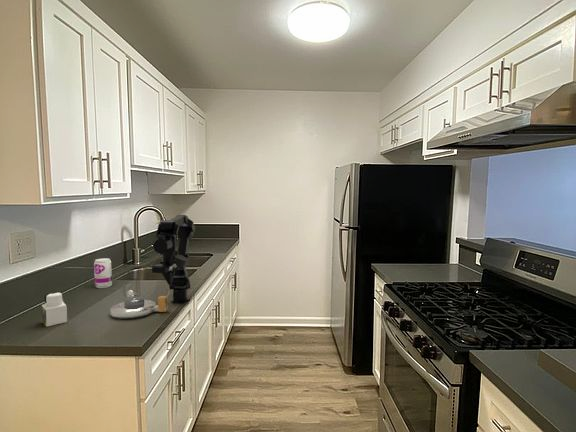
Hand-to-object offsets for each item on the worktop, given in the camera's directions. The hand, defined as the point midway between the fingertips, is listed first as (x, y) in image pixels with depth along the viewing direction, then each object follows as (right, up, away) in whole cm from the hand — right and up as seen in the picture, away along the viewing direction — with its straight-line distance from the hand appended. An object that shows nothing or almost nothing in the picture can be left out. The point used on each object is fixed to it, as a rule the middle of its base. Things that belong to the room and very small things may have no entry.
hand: (169, 284), depth 152 cm
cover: (-15, -9, -1) cm, 18 cm away
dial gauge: (-21, -11, +12) cm, 27 cm away
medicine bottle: (-42, -13, -12) cm, 46 cm away
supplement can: (-50, -9, +39) cm, 64 cm away
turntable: (-13, -11, -1) cm, 17 cm away
